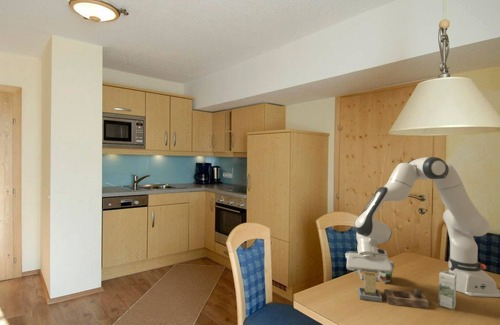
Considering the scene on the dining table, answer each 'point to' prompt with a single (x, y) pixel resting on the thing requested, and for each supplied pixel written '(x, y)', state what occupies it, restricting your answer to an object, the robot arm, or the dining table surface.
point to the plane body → (406, 298)
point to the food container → (387, 275)
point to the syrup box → (447, 289)
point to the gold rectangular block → (369, 284)
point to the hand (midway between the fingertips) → (370, 280)
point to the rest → (370, 298)
